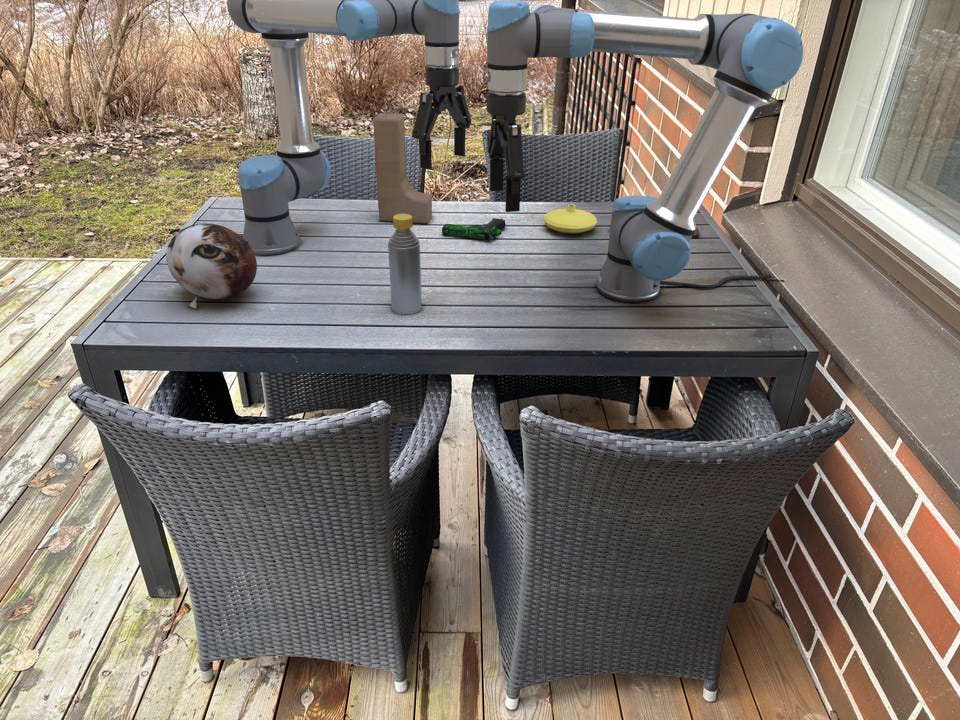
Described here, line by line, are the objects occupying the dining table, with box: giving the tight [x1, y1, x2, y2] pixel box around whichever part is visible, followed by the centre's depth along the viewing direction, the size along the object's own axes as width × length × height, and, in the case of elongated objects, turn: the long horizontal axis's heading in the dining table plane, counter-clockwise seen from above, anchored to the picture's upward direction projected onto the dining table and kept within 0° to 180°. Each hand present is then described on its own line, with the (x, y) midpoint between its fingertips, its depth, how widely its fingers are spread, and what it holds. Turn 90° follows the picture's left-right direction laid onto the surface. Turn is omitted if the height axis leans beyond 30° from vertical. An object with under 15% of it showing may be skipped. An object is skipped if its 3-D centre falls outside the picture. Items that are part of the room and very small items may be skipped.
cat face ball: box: [165, 222, 258, 309], centre depth 165 cm, size 22×18×20 cm
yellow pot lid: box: [543, 203, 598, 234], centre depth 209 cm, size 16×16×7 cm
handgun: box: [441, 217, 506, 242], centre depth 207 cm, size 16×3×15 cm
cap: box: [392, 214, 414, 230], centre depth 155 cm, size 4×4×2 cm
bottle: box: [387, 228, 423, 315], centre depth 160 cm, size 7×7×22 cm
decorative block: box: [372, 112, 433, 224], centre depth 209 cm, size 8×15×30 cm, turn 82°
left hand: (443, 161), depth 169 cm, fingers open, 13 cm apart
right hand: (504, 200), depth 147 cm, fingers open, 13 cm apart
